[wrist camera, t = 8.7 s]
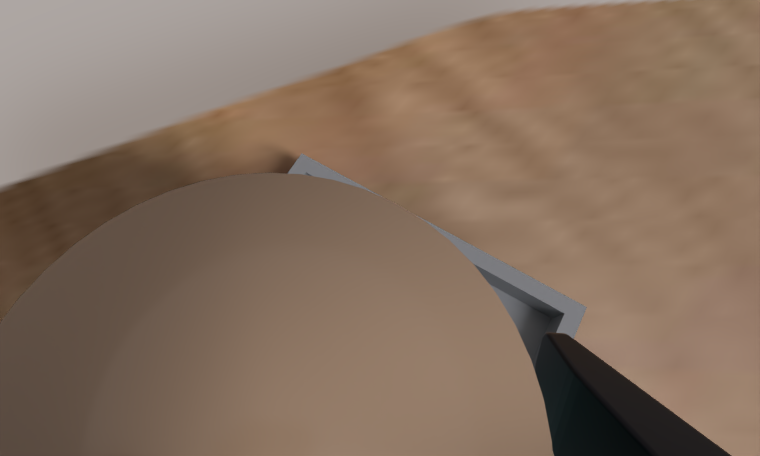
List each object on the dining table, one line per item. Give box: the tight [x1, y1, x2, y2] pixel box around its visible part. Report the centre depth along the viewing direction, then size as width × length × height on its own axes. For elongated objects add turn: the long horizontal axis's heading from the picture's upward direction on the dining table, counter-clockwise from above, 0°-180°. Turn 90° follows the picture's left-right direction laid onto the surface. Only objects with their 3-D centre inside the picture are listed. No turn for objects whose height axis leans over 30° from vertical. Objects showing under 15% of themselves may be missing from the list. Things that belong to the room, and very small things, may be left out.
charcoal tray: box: [287, 154, 587, 370], centre depth 15 cm, size 14×12×2 cm
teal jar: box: [0, 173, 553, 456], centre depth 10 cm, size 5×5×12 cm
